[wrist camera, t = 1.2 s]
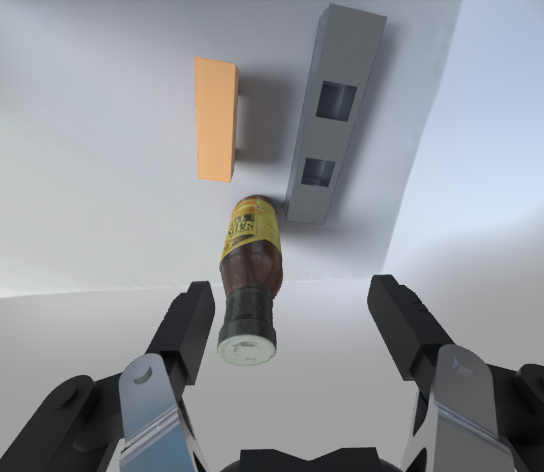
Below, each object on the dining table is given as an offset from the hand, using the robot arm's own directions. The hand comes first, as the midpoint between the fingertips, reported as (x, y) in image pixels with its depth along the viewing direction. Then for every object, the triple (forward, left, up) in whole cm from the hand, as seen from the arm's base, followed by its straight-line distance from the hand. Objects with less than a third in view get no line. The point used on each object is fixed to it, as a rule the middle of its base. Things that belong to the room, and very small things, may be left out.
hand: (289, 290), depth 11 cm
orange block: (-6, +5, -20) cm, 22 cm away
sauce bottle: (-1, -6, -21) cm, 21 cm away
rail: (+5, +5, -20) cm, 22 cm away
